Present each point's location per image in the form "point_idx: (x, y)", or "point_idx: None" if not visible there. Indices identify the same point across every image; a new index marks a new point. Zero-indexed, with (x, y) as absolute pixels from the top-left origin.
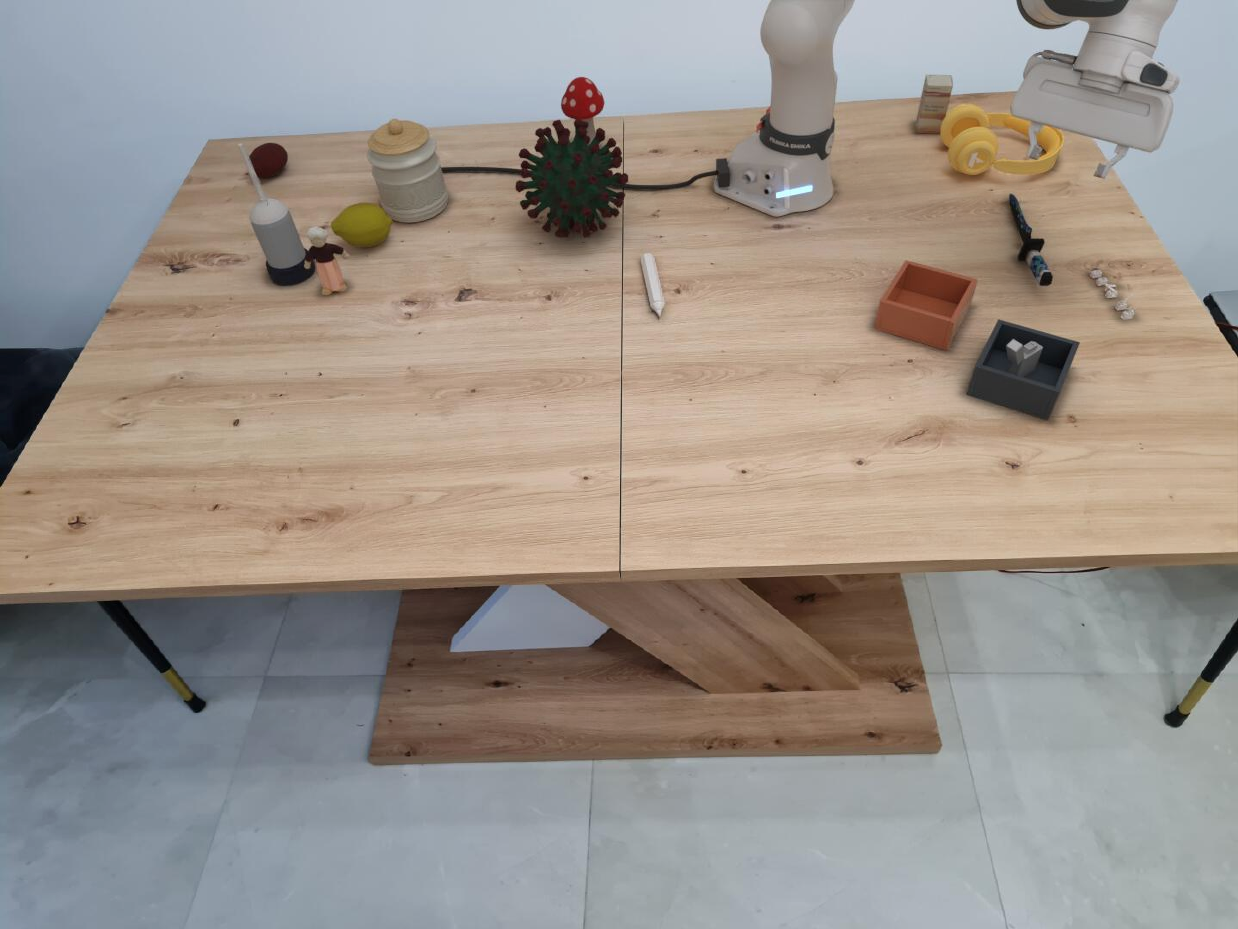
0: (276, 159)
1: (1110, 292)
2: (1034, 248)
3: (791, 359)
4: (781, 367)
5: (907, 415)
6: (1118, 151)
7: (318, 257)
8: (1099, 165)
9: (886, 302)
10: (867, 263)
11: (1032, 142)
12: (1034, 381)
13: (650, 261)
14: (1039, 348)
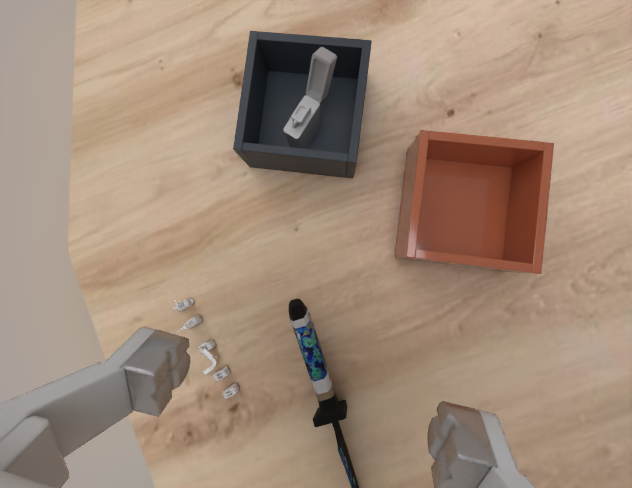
0: None
1: (207, 345)
2: (326, 403)
3: (614, 56)
4: (622, 35)
5: (429, 11)
6: (20, 424)
7: None
8: (154, 364)
9: (541, 142)
10: (573, 319)
11: (519, 482)
12: (285, 39)
13: None
14: (287, 126)
